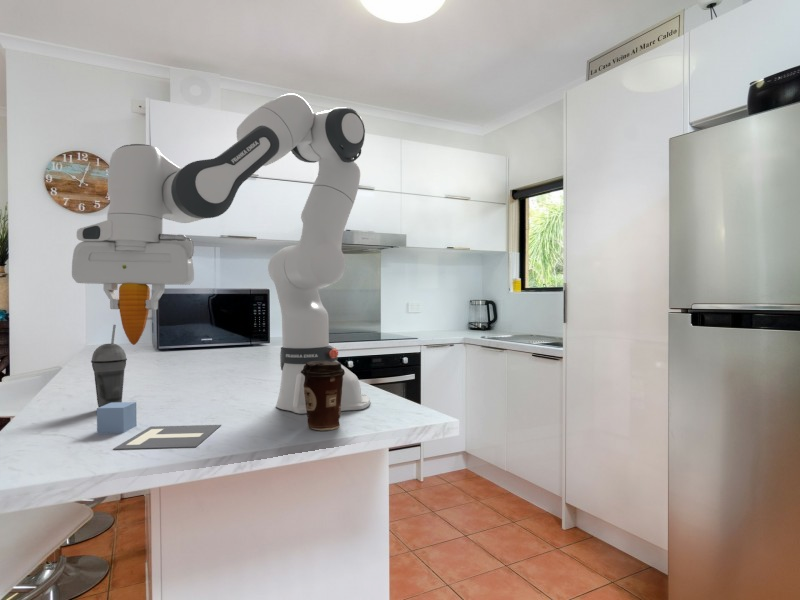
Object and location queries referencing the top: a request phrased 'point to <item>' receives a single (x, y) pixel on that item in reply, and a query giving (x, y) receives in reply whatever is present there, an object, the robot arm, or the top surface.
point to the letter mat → (169, 437)
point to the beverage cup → (109, 372)
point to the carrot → (133, 309)
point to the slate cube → (116, 417)
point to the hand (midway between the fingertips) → (134, 309)
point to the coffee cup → (323, 394)
